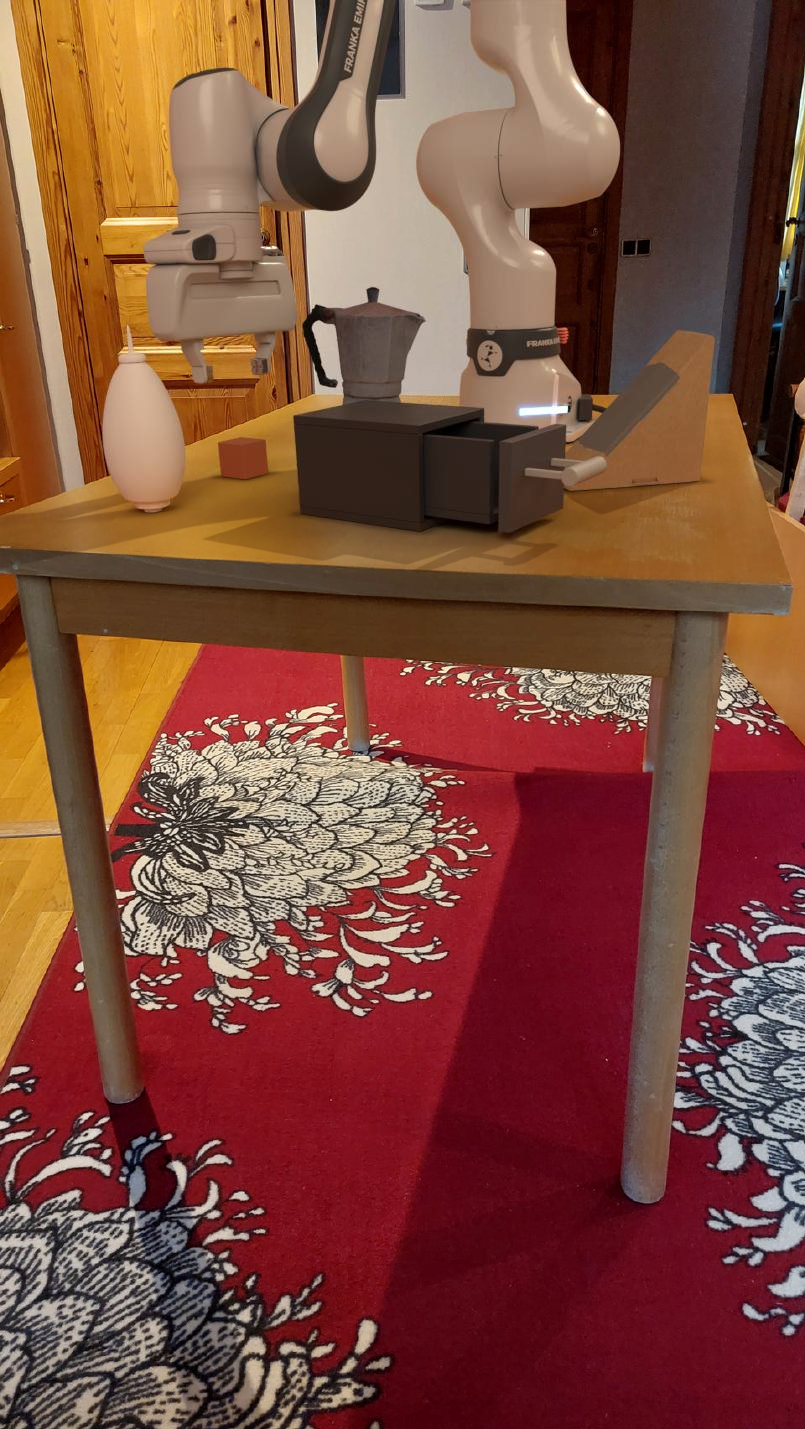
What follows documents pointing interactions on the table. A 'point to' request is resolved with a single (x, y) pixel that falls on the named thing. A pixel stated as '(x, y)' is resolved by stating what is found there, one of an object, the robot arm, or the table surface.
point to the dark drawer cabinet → (369, 460)
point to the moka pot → (366, 347)
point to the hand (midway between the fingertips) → (233, 378)
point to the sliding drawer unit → (499, 472)
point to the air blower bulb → (142, 434)
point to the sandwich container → (654, 420)
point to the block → (243, 458)
